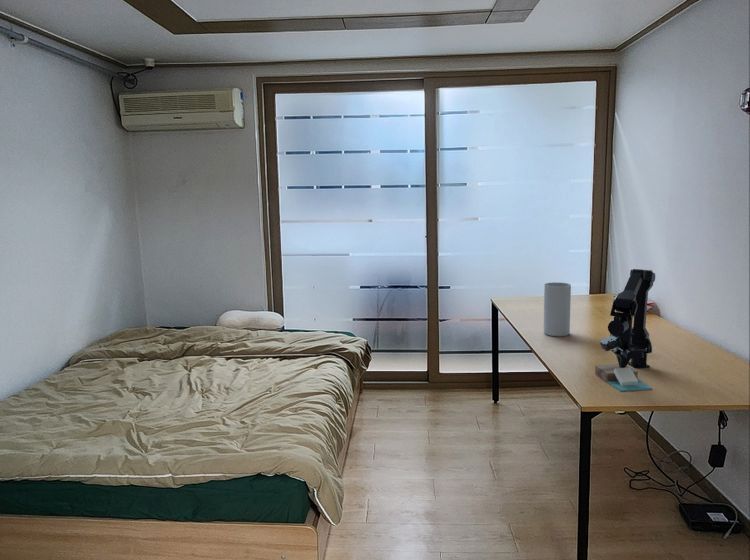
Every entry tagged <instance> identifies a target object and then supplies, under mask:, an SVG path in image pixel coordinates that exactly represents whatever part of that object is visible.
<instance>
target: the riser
mask: <svg viewBox="0 0 750 560" xmlns="http://www.w3.org/2000/svg"><path fill="white" fill-rule="evenodd" d="M615 368H620V367H619V363H618V364H617V363H615V364H600V365H594V374H595V376H597V377H599V378H600V379H602V380H603V381H605V382H606V383H608V381H618V379H617V377H616V376H615V374H614V369H615ZM625 368H631V370H632V371H633V373H634V375H635V376H636V378H637V380H639V379H638V378H639V377H638V376H639V375H638V374H639V371H638V370H636V369H634V368H633V367H632V366H631V367H630V365H627V366H626V367H625Z"/></svg>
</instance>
